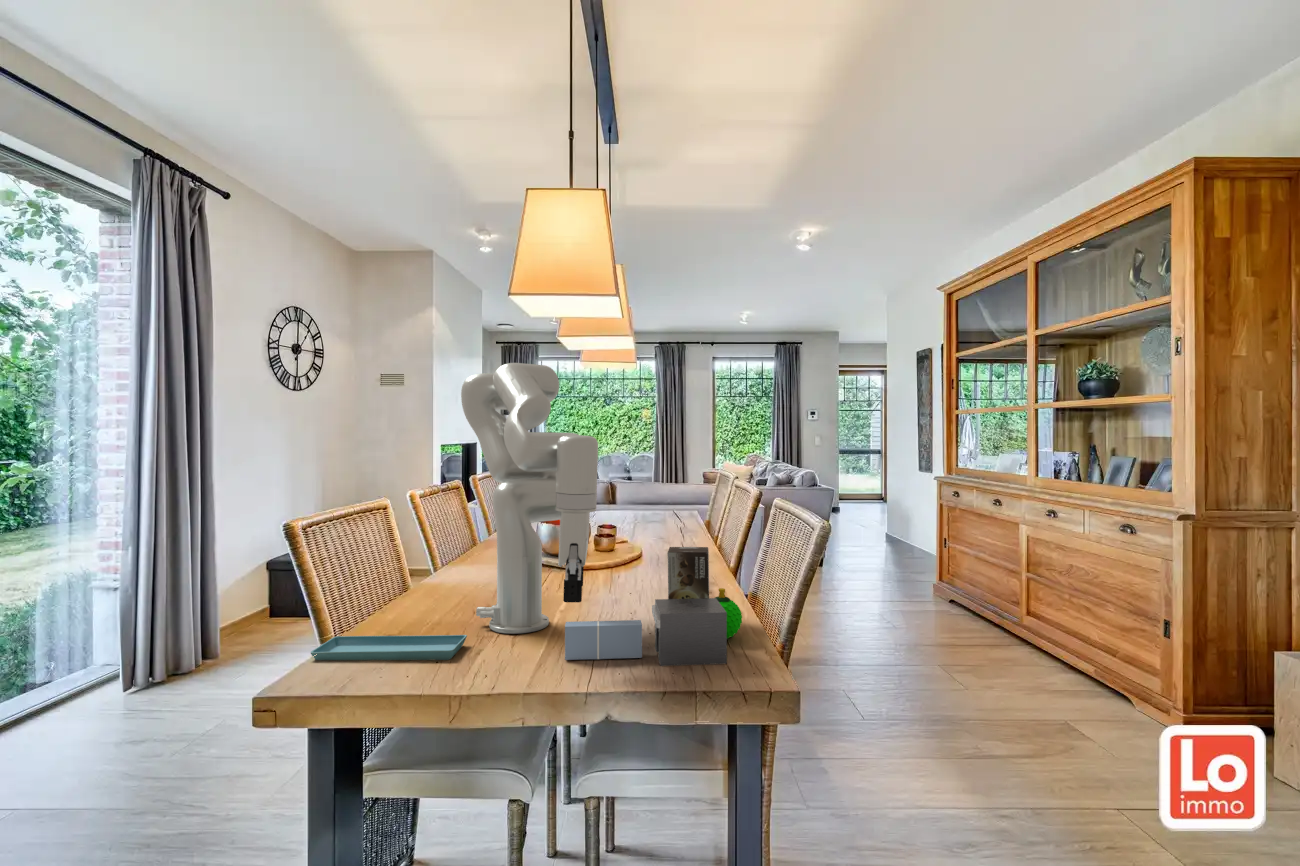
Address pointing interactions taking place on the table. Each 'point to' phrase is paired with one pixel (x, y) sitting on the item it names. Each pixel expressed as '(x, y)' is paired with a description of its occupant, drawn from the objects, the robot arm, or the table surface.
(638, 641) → the blue-grey banded block
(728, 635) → the ornament
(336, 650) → the teal serving tray
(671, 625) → the dark grey box
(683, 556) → the coffee box
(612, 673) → the table surface
